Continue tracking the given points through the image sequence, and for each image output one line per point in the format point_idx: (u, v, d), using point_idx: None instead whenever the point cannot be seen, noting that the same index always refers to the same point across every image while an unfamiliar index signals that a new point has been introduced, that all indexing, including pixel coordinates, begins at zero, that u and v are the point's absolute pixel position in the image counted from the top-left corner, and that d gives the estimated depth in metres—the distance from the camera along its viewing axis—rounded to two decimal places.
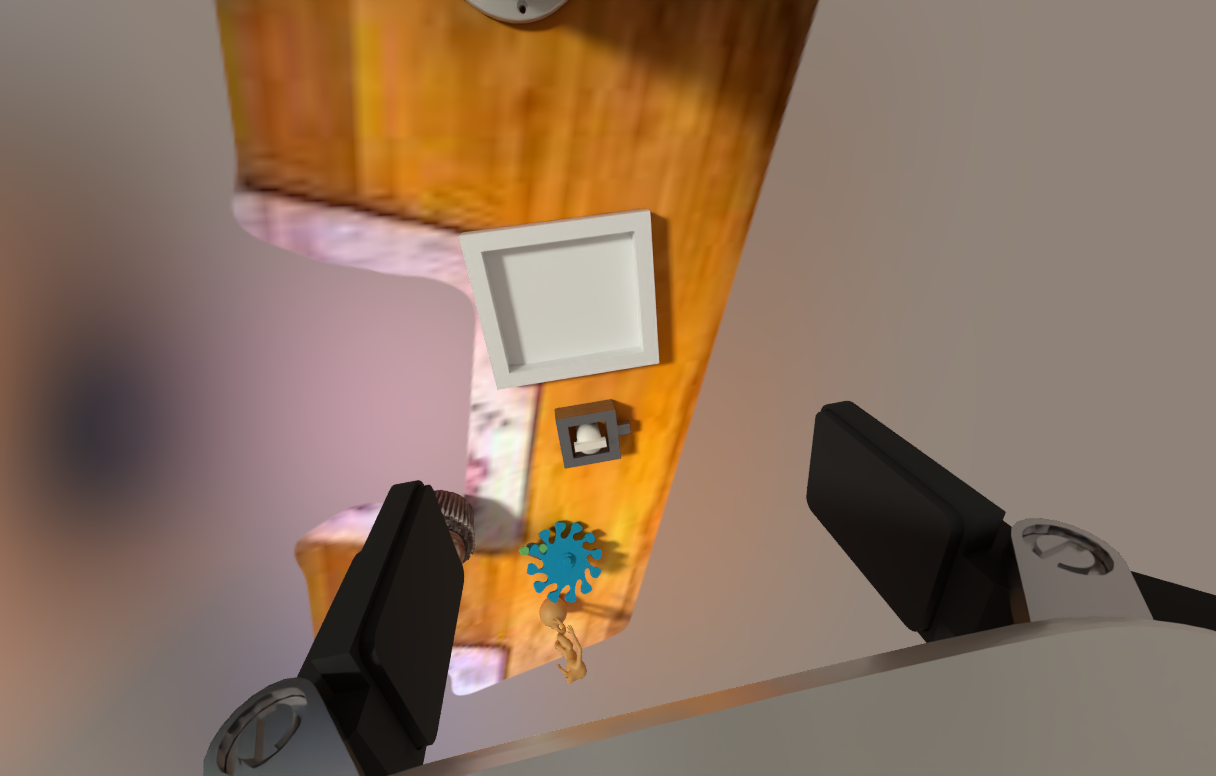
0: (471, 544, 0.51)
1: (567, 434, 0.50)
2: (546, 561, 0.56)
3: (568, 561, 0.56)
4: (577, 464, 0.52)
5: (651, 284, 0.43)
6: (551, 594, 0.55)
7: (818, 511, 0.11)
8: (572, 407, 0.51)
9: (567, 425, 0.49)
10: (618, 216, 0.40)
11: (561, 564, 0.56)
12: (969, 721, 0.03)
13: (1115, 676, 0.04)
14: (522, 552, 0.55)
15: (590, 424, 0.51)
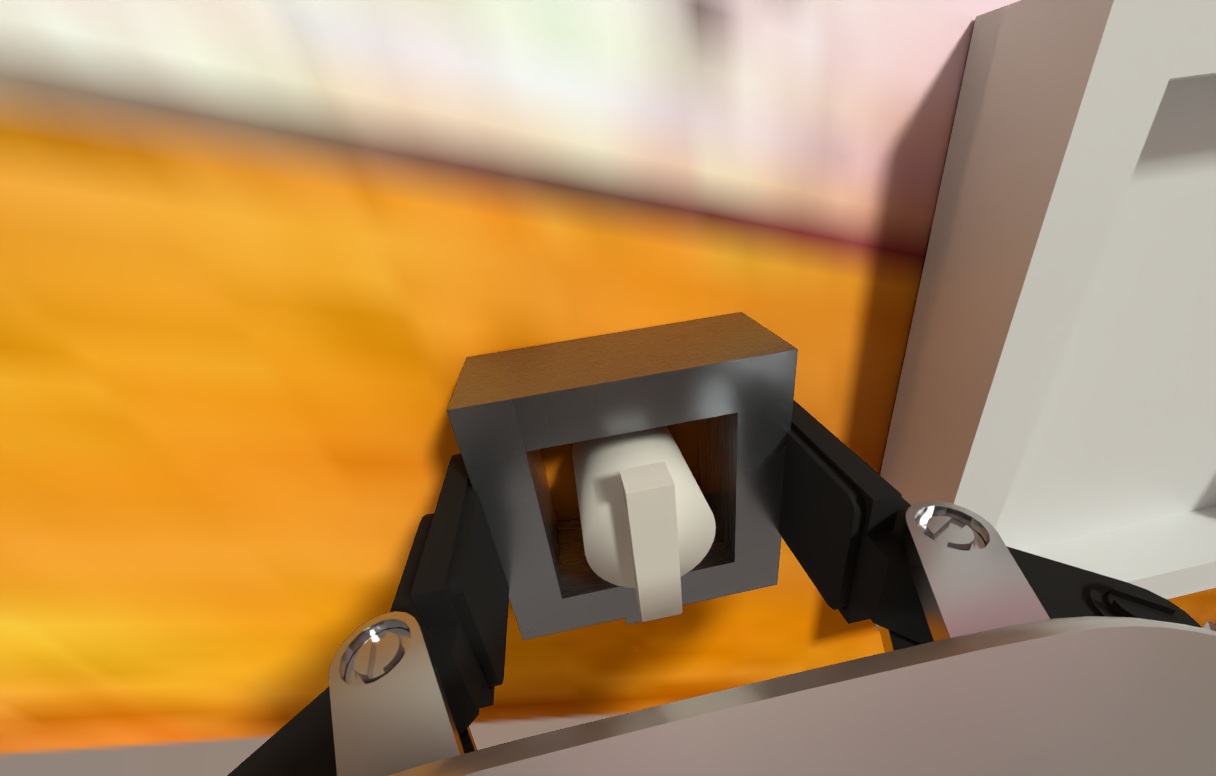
0: None
1: (692, 413, 0.09)
2: None
3: None
4: (482, 474, 0.09)
5: None
6: None
7: None
8: None
9: (748, 410, 0.09)
10: None
11: None
12: (969, 721, 0.03)
13: (1115, 676, 0.04)
14: None
15: None
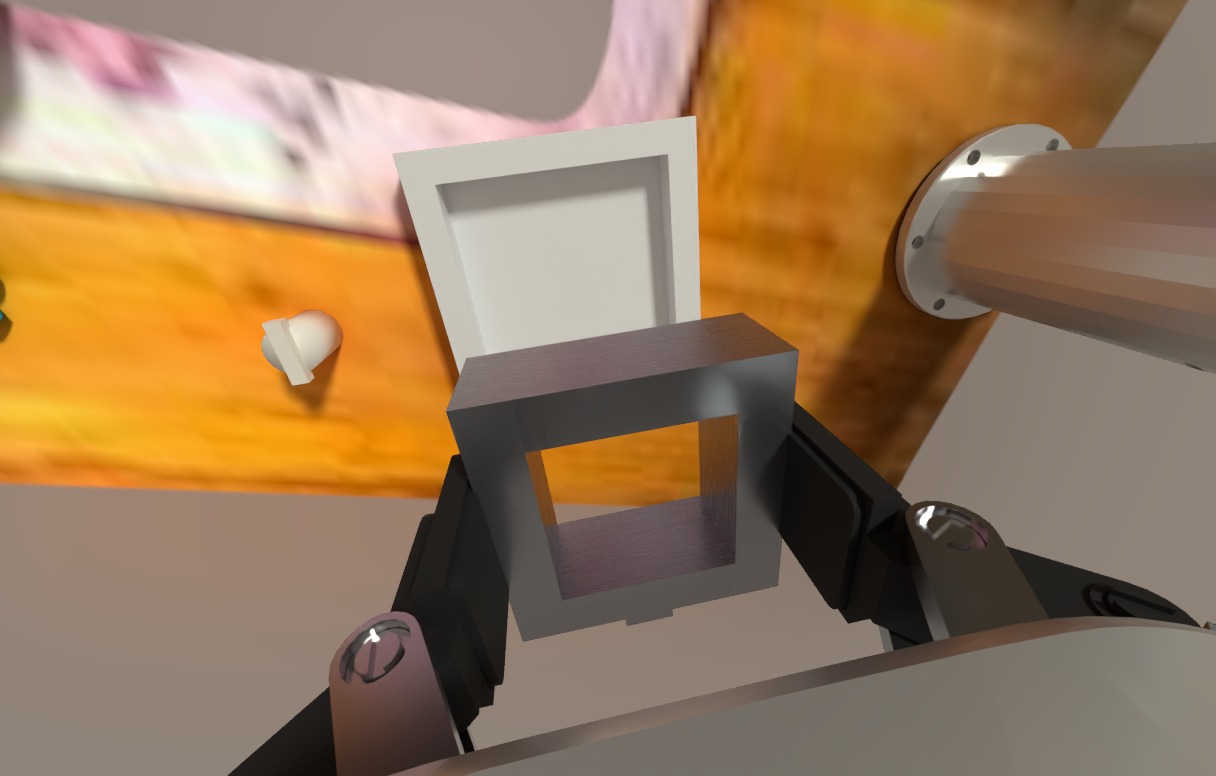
0: None
1: (693, 414, 0.09)
2: None
3: None
4: (481, 476, 0.09)
5: None
6: None
7: None
8: None
9: (749, 411, 0.09)
10: None
11: None
12: (967, 721, 0.03)
13: (1114, 676, 0.04)
14: None
15: (333, 342, 0.26)
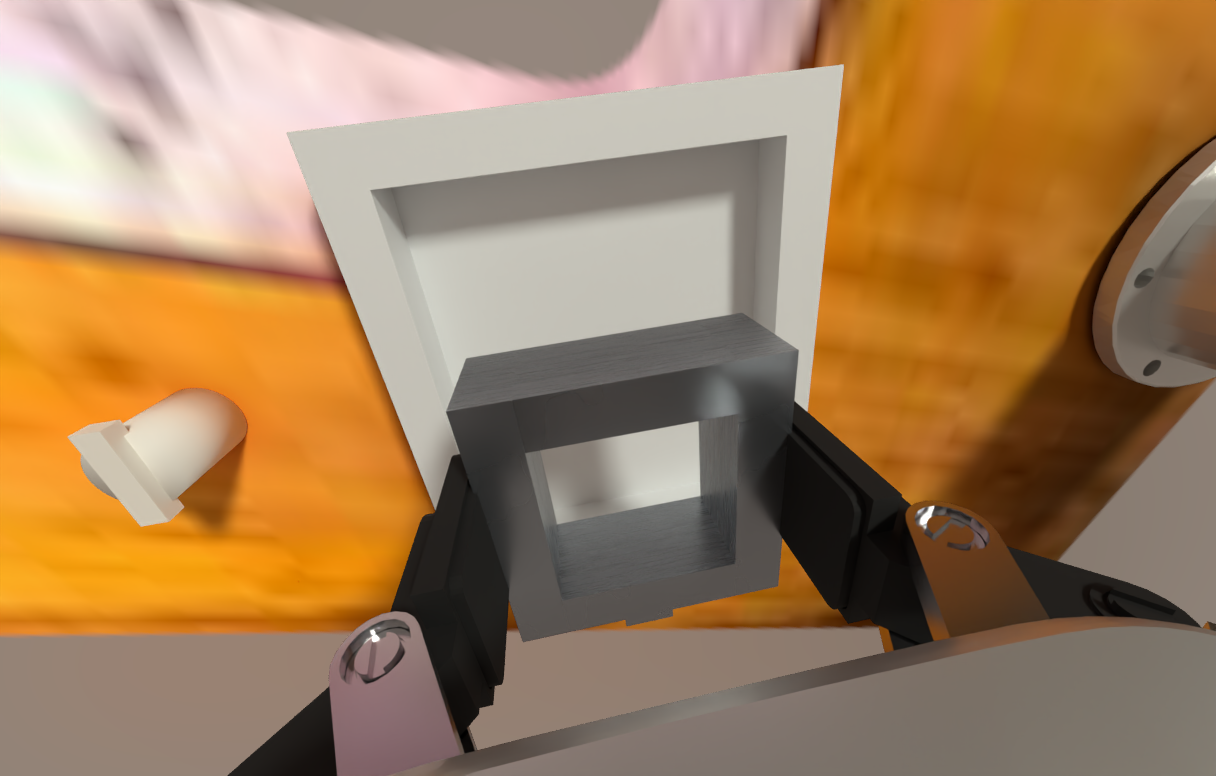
0: None
1: (693, 414, 0.09)
2: None
3: None
4: (481, 476, 0.09)
5: None
6: None
7: None
8: None
9: (749, 411, 0.09)
10: None
11: None
12: (967, 719, 0.03)
13: (1115, 676, 0.04)
14: None
15: (223, 442, 0.16)
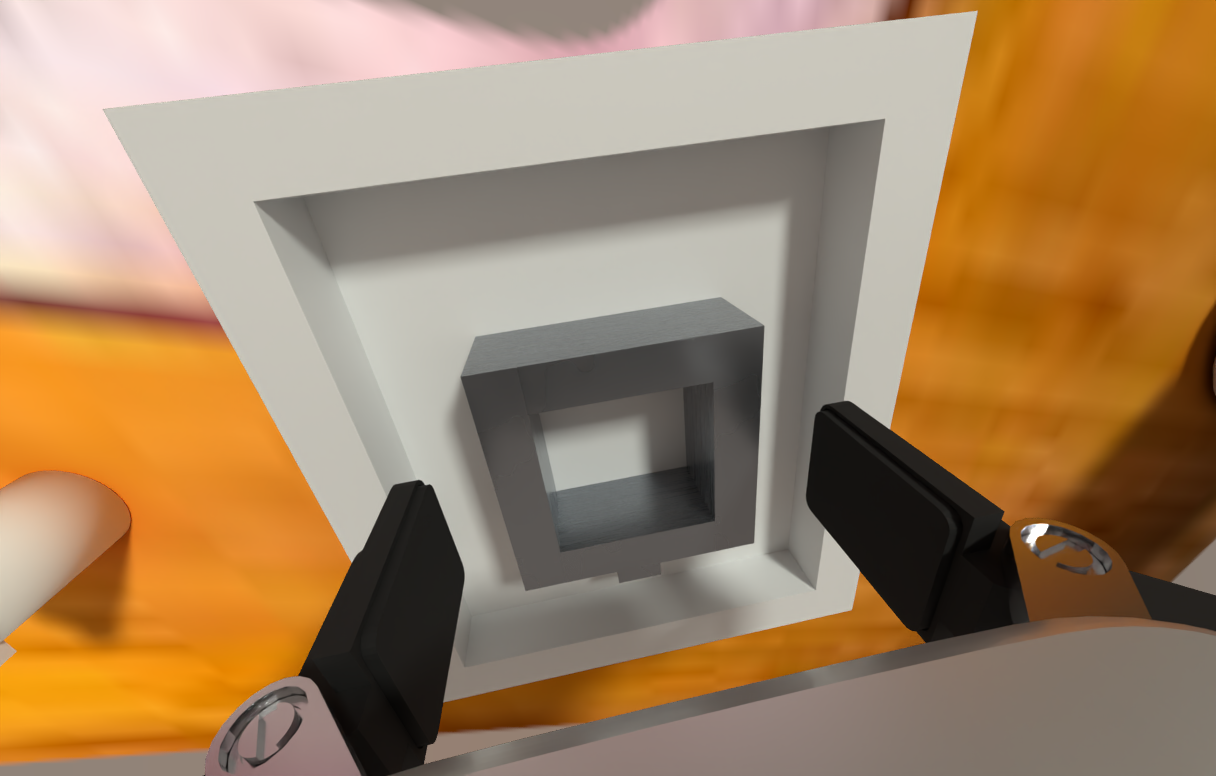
0: None
1: (674, 382, 0.10)
2: None
3: None
4: (490, 435, 0.10)
5: (673, 644, 0.16)
6: None
7: (818, 511, 0.11)
8: None
9: (722, 380, 0.10)
10: None
11: None
12: (968, 722, 0.03)
13: (1115, 676, 0.04)
14: None
15: (84, 548, 0.12)
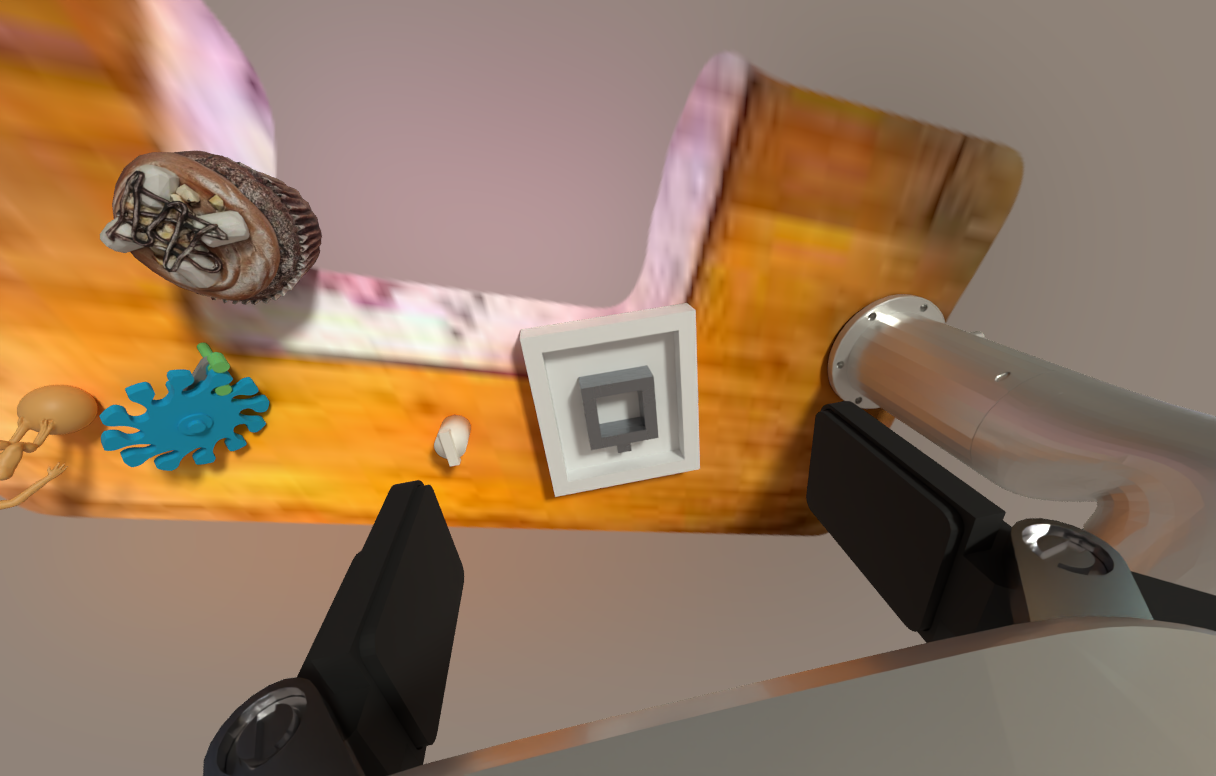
0: (237, 300, 0.30)
1: (631, 390, 0.40)
2: (197, 398, 0.34)
3: (197, 429, 0.35)
4: (586, 403, 0.40)
5: (636, 478, 0.46)
6: (123, 414, 0.31)
7: (818, 511, 0.11)
8: None
9: (644, 389, 0.40)
10: (697, 446, 0.45)
11: (190, 419, 0.34)
12: (970, 722, 0.03)
13: (1115, 676, 0.04)
14: (218, 364, 0.33)
15: None
